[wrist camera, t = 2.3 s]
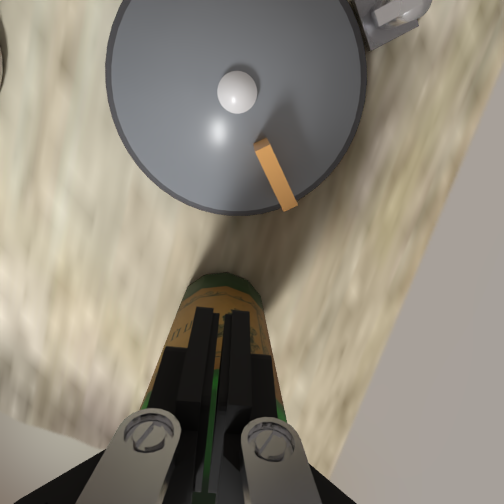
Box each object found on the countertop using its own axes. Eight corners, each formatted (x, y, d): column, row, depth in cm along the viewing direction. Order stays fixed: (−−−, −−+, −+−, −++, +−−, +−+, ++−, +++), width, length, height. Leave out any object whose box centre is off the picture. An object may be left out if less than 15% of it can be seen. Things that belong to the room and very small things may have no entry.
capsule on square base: (399, -27, 30) (437, -53, 24) (414, 27, 32) (454, 14, 26) (342, 4, 31) (366, -14, 25) (359, 55, 32) (386, 49, 26)
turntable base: (58, 25, 31) (49, 23, 29) (302, -124, 28) (306, -135, 26) (190, 246, 38) (188, 252, 37) (393, 149, 35) (400, 151, 34)
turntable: (67, 29, 29) (31, 18, 24) (298, -111, 27) (312, -157, 21) (192, 240, 36) (184, 265, 31) (386, 146, 33) (413, 158, 28)
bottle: (251, 246, 39) (273, 567, 13) (285, 330, 43) (355, 703, 17) (153, 281, 40) (-4, 639, 14) (196, 360, 44) (134, 749, 18)
